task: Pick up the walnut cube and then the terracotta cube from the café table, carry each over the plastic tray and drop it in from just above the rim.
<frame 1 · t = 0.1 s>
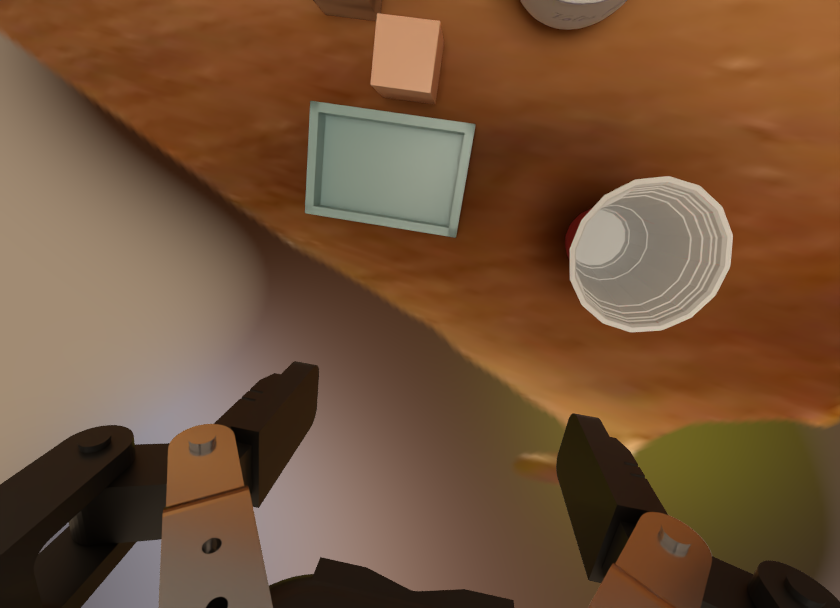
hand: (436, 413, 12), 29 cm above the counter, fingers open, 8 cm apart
terracotta cube: (412, 71, 35), on the counter
plastic cup: (596, 235, 38), on the counter
tray: (390, 171, 38), on the counter
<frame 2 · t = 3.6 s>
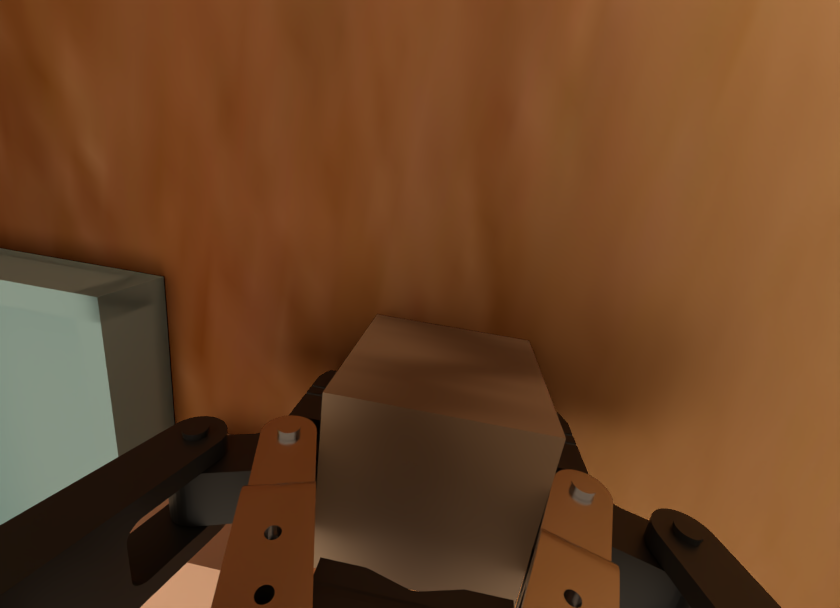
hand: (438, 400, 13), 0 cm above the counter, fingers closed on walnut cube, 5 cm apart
terracotta cube: (272, 492, 16), on the counter
tray: (63, 431, 16), on the counter
walnut cube: (440, 393, 13), on the counter, touching gripper
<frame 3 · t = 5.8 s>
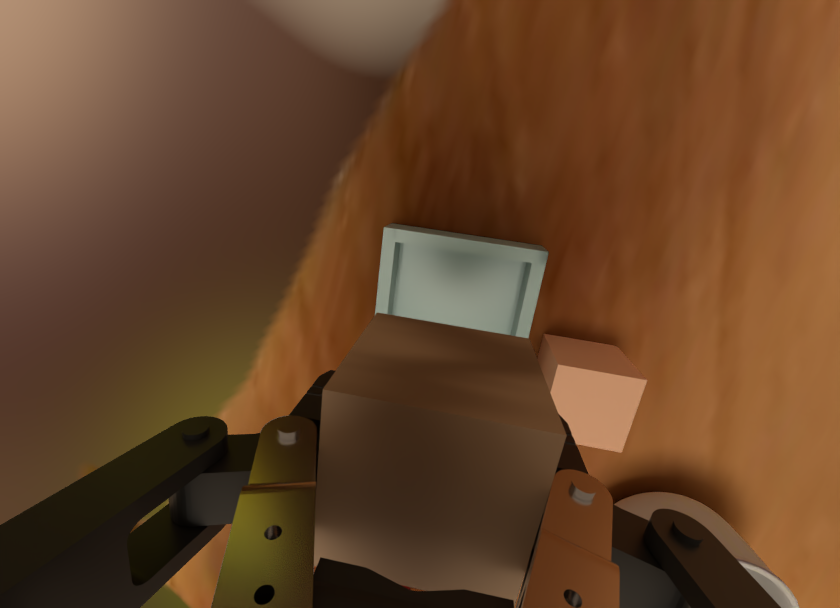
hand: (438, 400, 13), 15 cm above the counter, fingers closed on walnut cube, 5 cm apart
terracotta cube: (570, 371, 28), on the counter
tray: (448, 337, 28), on the counter
teacup: (655, 536, 31), on the counter
walnut cube: (440, 392, 13), point 14 cm above the counter, touching gripper
when the fingers open (4 cm above the counter, at t = 7.9 s): walnut cube drops 3 cm, resting on tray.
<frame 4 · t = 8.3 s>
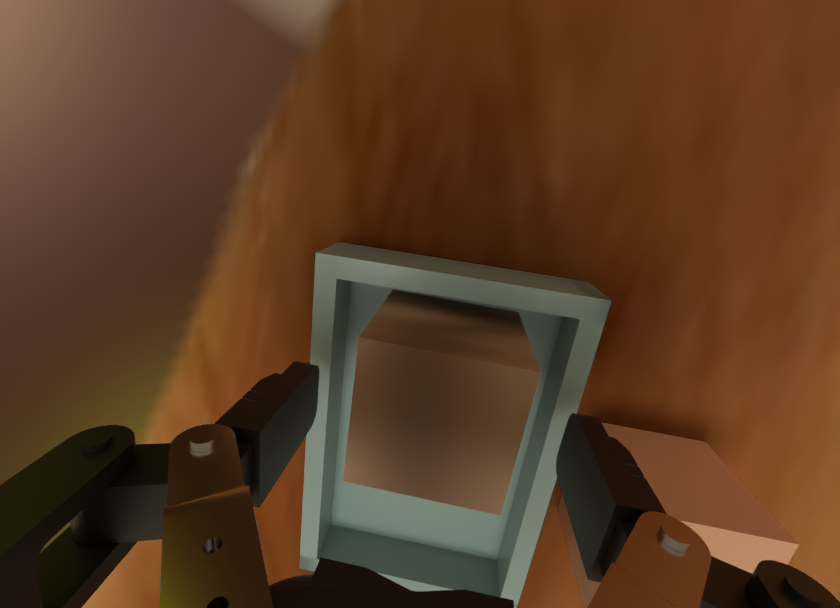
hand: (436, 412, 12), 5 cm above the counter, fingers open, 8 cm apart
terracotta cube: (626, 475, 17), on the counter
tray: (433, 421, 18), on the counter
walnut cube: (444, 357, 16), point 1 cm above the counter, touching tray
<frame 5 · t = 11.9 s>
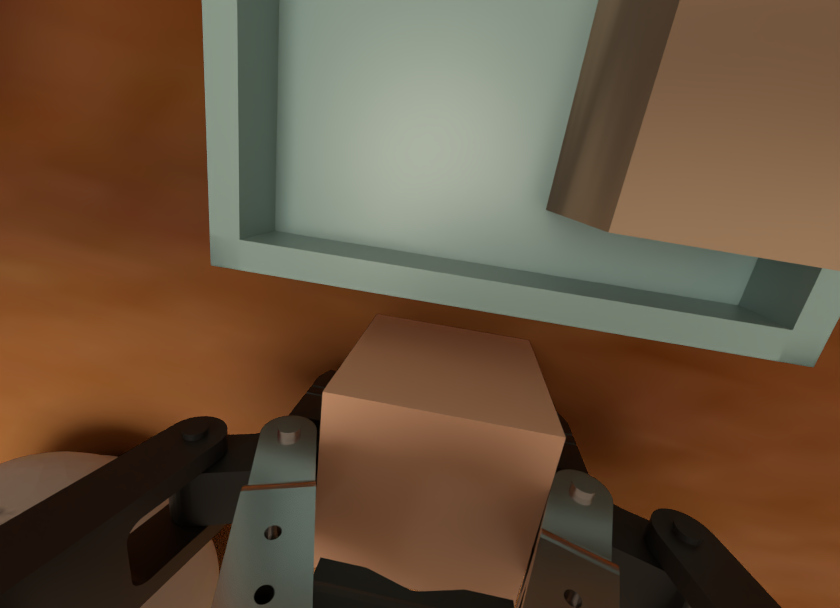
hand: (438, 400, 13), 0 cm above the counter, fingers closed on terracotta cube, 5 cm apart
terracotta cube: (440, 393, 13), on the counter, touching gripper
tray: (526, 110, 10), on the counter
teacup: (124, 527, 18), on the counter
walnut cube: (672, 124, 10), point 1 cm above the counter, touching tray
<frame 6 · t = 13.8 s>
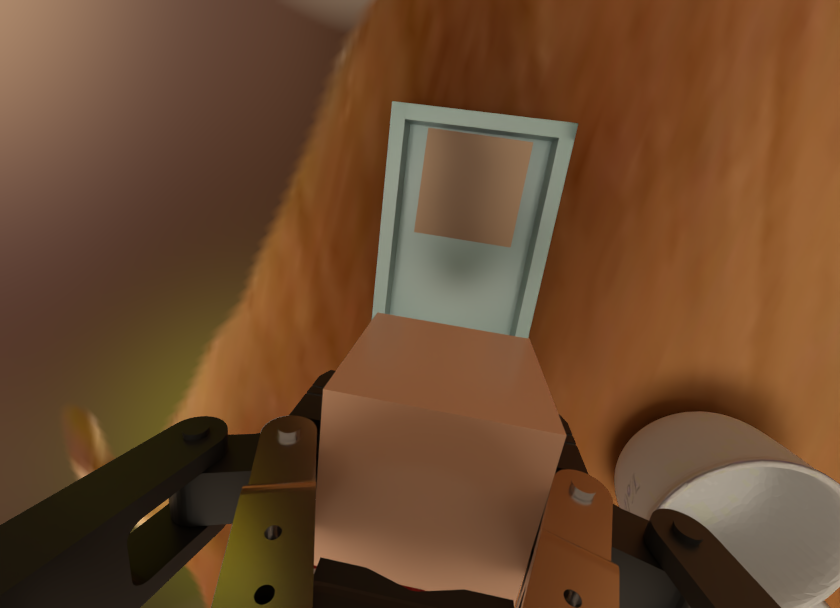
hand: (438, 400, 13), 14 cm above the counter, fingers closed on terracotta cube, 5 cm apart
terracotta cube: (440, 392, 13), point 14 cm above the counter, touching gripper
tray: (462, 243, 25), on the counter
teacup: (686, 468, 29), on the counter
walnut cube: (470, 188, 24), point 1 cm above the counter, touching tray
when the fingers open (4 cm above the counter, at t = 15.8 s): terracotta cube drops 3 cm, resting on tray.
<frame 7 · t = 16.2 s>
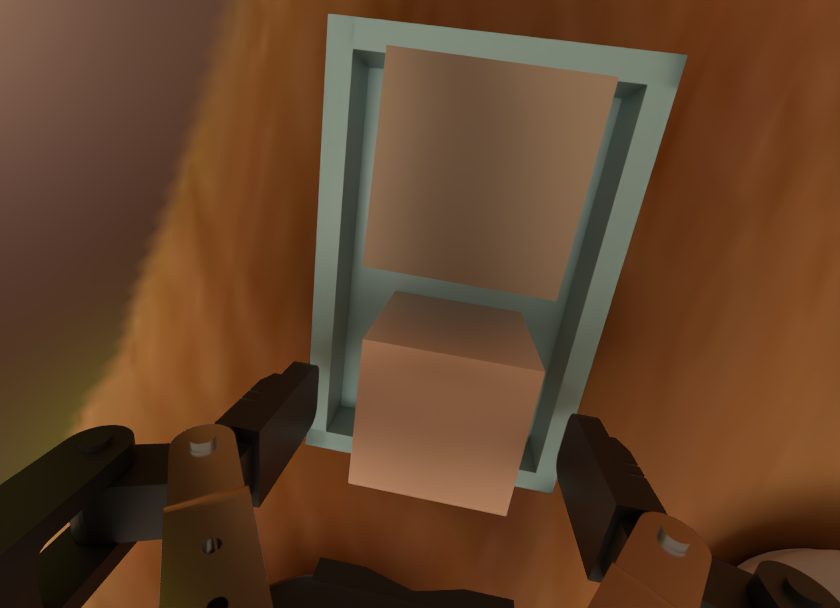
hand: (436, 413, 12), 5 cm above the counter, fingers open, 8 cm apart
terracotta cube: (447, 358, 16), point 1 cm above the counter, touching tray
tray: (458, 273, 15), on the counter
walnut cube: (474, 181, 14), point 1 cm above the counter, touching tray
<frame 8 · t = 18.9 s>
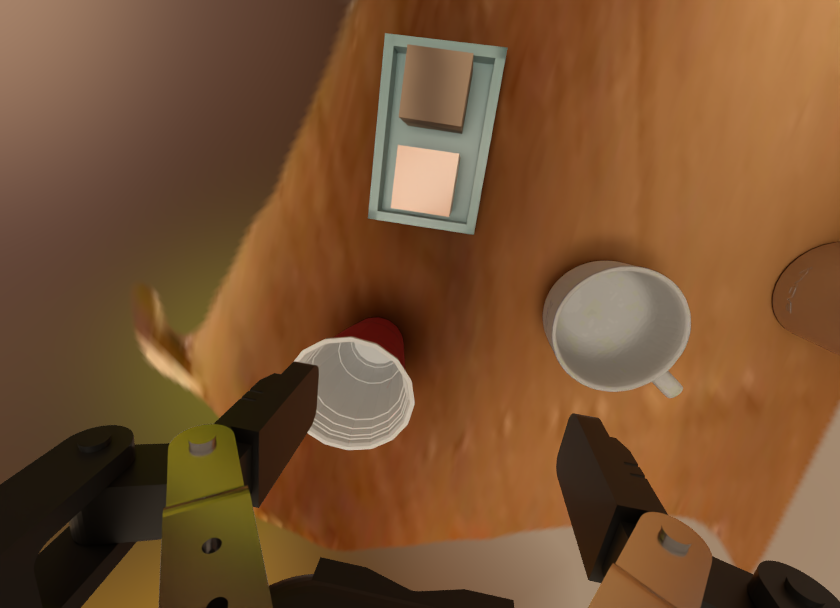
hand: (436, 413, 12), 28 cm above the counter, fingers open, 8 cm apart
terracotta cube: (429, 181, 36), point 1 cm above the counter, touching tray
plastic cup: (380, 341, 43), on the counter
tray: (434, 142, 36), on the counter
teacup: (598, 316, 39), on the counter
walnut cube: (439, 99, 34), point 1 cm above the counter, touching tray
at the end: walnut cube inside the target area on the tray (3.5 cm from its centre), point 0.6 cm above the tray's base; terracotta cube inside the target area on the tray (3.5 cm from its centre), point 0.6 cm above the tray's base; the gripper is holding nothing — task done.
